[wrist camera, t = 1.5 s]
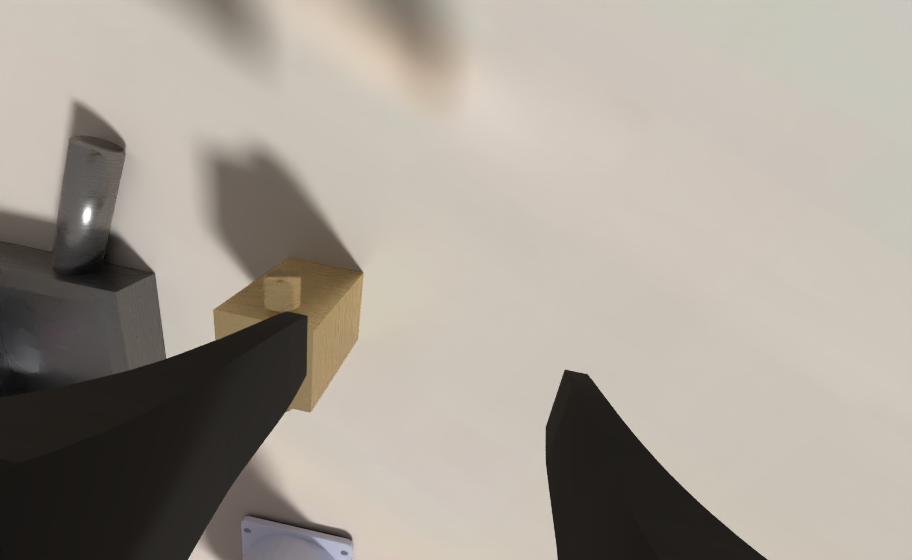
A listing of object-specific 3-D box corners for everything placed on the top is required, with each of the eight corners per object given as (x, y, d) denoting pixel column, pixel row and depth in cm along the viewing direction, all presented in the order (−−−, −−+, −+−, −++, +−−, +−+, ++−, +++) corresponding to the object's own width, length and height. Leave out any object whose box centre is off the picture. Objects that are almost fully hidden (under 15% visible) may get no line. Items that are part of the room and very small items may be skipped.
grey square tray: (174, 427, 27) (144, 457, 25) (16, 392, 28) (-29, 418, 26) (154, 273, 23) (115, 292, 21) (-34, 234, 24) (-93, 249, 21)
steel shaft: (111, 270, 23) (77, 284, 21) (76, 251, 23) (39, 264, 21) (136, 156, 21) (99, 161, 19) (97, 134, 20) (56, 137, 19)
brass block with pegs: (356, 357, 24) (310, 434, 18) (287, 342, 24) (220, 414, 18) (365, 250, 21) (314, 303, 16) (288, 235, 21) (210, 281, 16)
